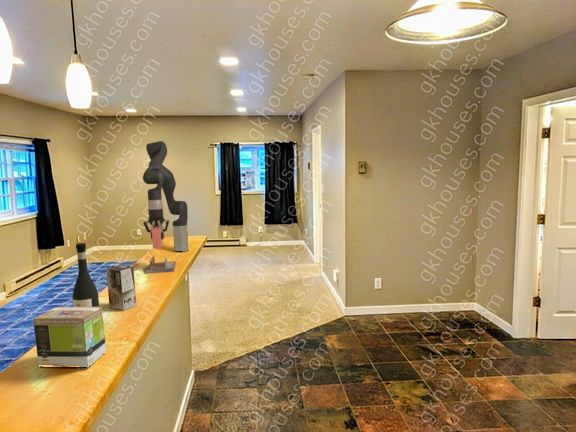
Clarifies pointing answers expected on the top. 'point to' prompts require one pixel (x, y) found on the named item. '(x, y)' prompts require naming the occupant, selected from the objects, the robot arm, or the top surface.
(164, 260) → the bookend
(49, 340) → the tea box
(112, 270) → the coffee box
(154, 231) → the book
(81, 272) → the wine bottle
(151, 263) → the book rack
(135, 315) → the top surface
